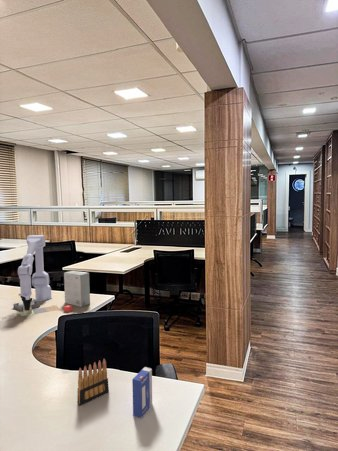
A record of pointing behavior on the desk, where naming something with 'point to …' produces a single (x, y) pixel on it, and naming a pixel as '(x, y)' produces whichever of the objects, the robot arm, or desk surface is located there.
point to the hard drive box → (77, 288)
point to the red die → (67, 308)
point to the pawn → (27, 310)
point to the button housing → (22, 307)
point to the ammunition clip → (92, 383)
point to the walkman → (142, 392)
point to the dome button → (22, 303)
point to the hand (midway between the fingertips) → (26, 308)
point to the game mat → (41, 310)
